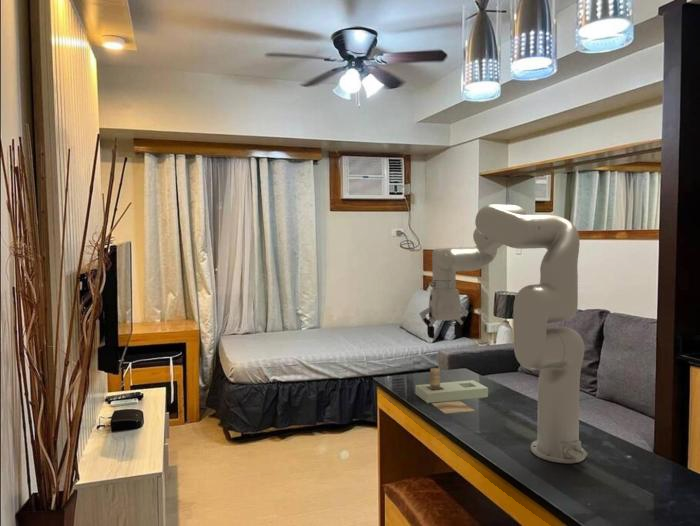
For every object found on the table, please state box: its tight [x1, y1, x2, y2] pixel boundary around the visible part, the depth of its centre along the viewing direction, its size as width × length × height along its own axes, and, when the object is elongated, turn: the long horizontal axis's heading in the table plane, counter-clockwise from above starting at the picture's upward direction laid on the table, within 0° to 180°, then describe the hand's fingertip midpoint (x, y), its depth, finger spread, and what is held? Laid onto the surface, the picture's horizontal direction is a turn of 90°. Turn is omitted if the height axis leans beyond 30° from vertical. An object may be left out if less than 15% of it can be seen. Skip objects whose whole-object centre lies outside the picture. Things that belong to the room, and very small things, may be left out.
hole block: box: [414, 379, 489, 404], centre depth 170 cm, size 10×22×4 cm, turn 105°
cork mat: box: [431, 400, 476, 415], centre depth 158 cm, size 10×10×1 cm
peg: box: [429, 367, 441, 391], centre depth 168 cm, size 3×3×10 cm
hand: (444, 336), depth 166 cm, fingers open, 9 cm apart
